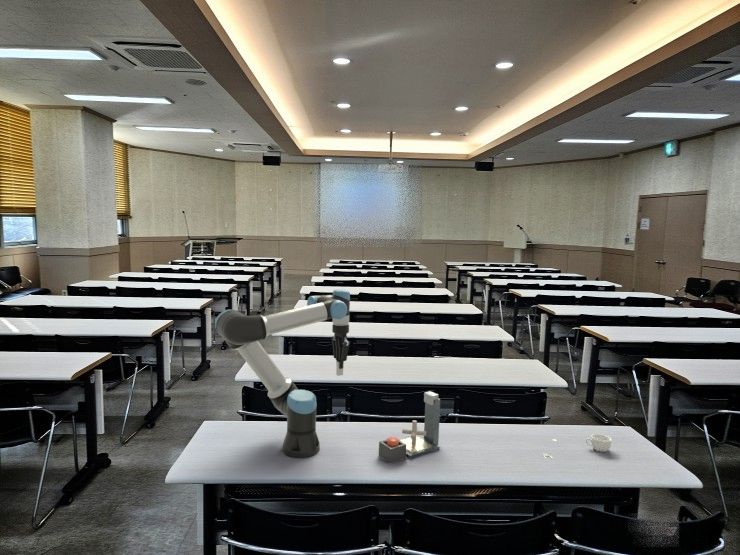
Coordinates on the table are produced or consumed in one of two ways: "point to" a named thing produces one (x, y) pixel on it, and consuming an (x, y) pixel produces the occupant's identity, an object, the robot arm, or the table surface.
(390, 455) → the button housing
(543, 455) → the paper
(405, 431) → the pipe connector
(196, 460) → the table surface
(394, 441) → the press button
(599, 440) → the teacup
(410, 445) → the press frame
